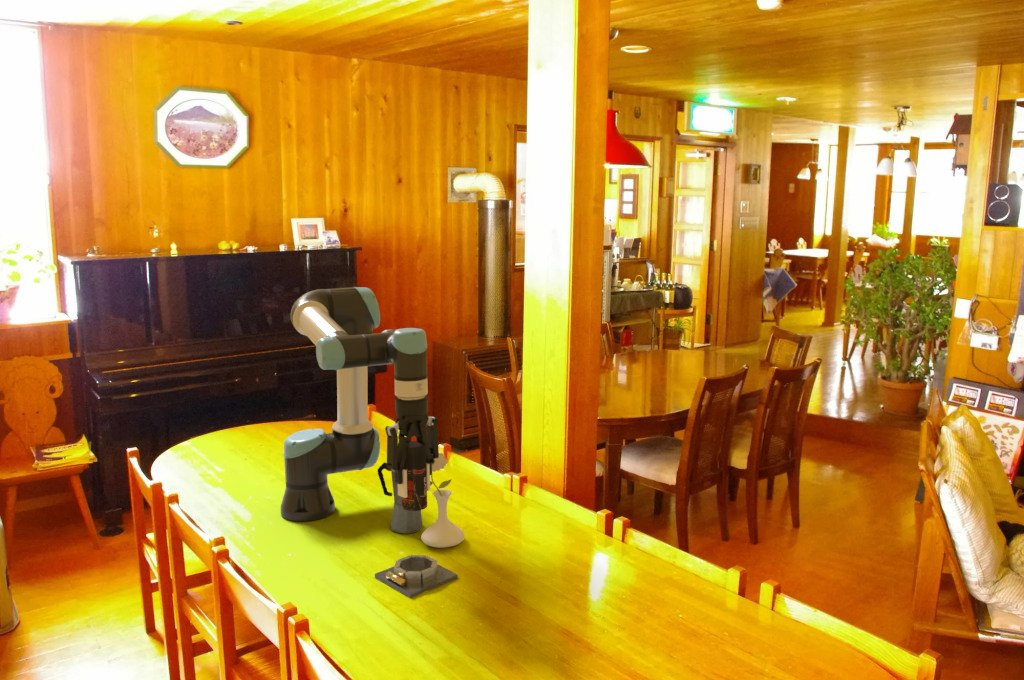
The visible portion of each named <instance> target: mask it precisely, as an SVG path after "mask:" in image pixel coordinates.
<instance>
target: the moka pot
mask: <svg viewBox="0 0 1024 680" xmlns="http://www.w3.org/2000/svg"><path fill="white" fill-rule="evenodd" d="M383 470H386V471H388V472H390V473H391V480H392V481H391V482H392V491H393V493H392V492H389V491H388V488H387V486H386V482H385V477H384V474H383ZM377 475H378V478H379V481H380V484H381V488H382V492H383V494H384V495H385V496H389V497H392V496H394V499H393V500H394V502H393V508H392V514H391V522H390V529H391V530H392V531H393V532H395V533H399V534H403V535H406V534H408V535H410V534H415V533H418V532H420V531H421V530H422V529H423V516H422V510H419V511H407V510H404V509H403V508H402V497H401V496H399V495H398V484H397V483H396V482H395V470H393V469H390V468H388V467H387V462H382V464H381V465H380V466H379V467H378V468H377Z"/></svg>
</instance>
